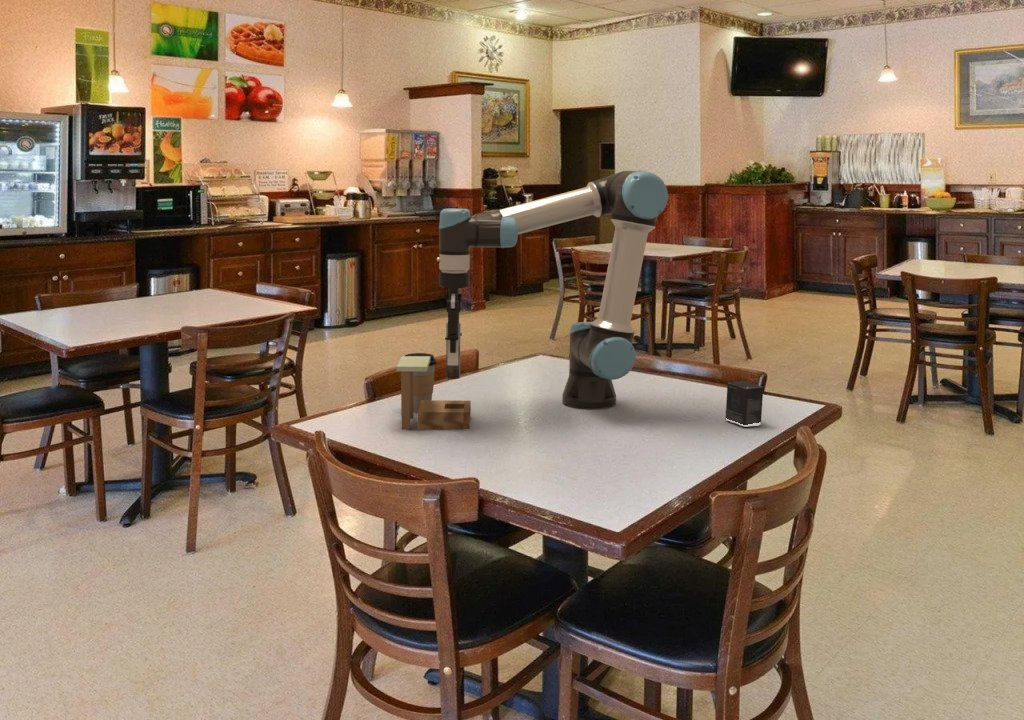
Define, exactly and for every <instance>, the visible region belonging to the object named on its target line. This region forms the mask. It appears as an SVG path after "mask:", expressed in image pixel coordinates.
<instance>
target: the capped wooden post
mask: <svg viewBox="0 0 1024 720" xmlns="http://www.w3.org/2000/svg"><path fill="white" fill-rule="evenodd" d="M429 364H430V356H405V355H403V356H401V357H400V359H399V361H398V363H397V365H396V372H400V390H401V391H400V393H401V394H400V396H401V397H400V398H401V399H400V401H401V403H400V404H401V405H400V407H401V409H400V410H401V430H411V420H413V419H414V418H415V417H414V414H415V413H414V406H413V371H419V372H427V370H428V367H429Z"/></svg>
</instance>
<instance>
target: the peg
mask: <svg viewBox="0 0 1024 720" xmlns="http://www.w3.org/2000/svg"><path fill="white" fill-rule="evenodd" d="M445 328H446V329H445V336H446V337H445V338H448V337H447V335H448V322H446V323H445ZM461 328H462V326H461V322H459V323H458V339H459V349H458V365H447V363H448V340H445V378H446V379H447V380H459V379H461V336H460V333H461Z"/></svg>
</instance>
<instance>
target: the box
mask: <svg viewBox="0 0 1024 720" xmlns="http://www.w3.org/2000/svg"><path fill="white" fill-rule="evenodd" d="M726 386H727V387H726V390H727V391H726V404H725V405H726V406H725V419H726V418H727V419H729V420H732V421H735V422H738V423H740V424H743V425H748V424H753V423H759V422H761V423H762V414H763V413H762V412H763V411H762V410H763V401H764V400H763V397H764V386H761V385H758V384H756V383H751V382H749V381H745V380H739V381H730V382H727V385H726Z"/></svg>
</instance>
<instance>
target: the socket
mask: <svg viewBox="0 0 1024 720" xmlns="http://www.w3.org/2000/svg"><path fill="white" fill-rule="evenodd" d="M471 407H472V406H471V400H449V399H448V400H443V399H442V400H441V399H440V400H435V399H433V400H421V402H420V405H419V409H418V412H417V413H416V414H417V430H441V431H442V430H452V431H453V430H456V431H457V430H458V431H459V430H462V431H463V430H464V431H465V430H470V427H471V426H470V425H471V417H472V416H471V414H472V413H471V411H472V409H471Z"/></svg>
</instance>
